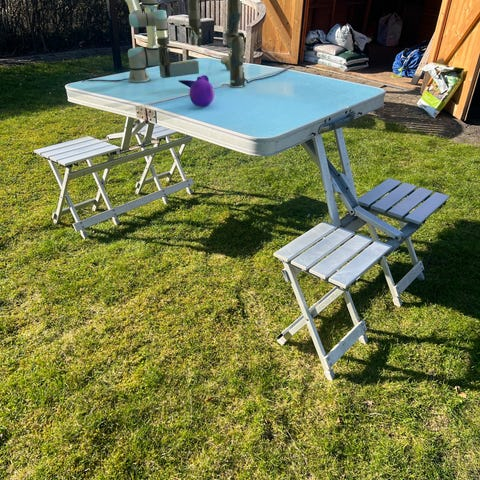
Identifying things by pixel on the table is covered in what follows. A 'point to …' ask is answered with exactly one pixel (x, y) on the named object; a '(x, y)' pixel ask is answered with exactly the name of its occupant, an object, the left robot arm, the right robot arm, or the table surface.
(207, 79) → the toy
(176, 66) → the bar
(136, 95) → the table surface
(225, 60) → the teapot
